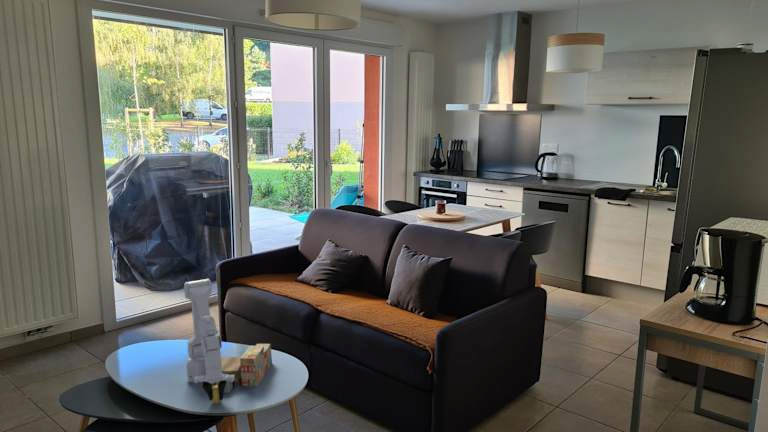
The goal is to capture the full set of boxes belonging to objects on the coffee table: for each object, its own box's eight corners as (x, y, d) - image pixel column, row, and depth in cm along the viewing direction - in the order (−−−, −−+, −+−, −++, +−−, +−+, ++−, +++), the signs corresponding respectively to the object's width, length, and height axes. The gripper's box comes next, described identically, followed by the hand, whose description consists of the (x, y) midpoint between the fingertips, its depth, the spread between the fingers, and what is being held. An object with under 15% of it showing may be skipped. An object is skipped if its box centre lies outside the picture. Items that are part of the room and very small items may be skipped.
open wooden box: (211, 387, 215) (210, 371, 214) (220, 373, 228) (218, 357, 227) (238, 386, 215) (237, 370, 214) (246, 372, 228) (244, 356, 227)
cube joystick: (209, 404, 202) (208, 389, 201) (220, 386, 216) (219, 372, 215) (222, 403, 202) (221, 389, 201) (232, 386, 216) (231, 372, 215)
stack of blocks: (258, 363, 237) (256, 336, 235) (272, 363, 236) (270, 337, 234) (241, 386, 216) (239, 357, 214) (256, 386, 215) (254, 357, 213)
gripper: (190, 371, 196) (193, 405, 198) (230, 369, 197) (232, 403, 199) (196, 362, 203) (199, 396, 205) (234, 361, 204) (237, 394, 206)
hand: (216, 399), depth 203 cm, fingers closed on cube joystick, 3 cm apart
